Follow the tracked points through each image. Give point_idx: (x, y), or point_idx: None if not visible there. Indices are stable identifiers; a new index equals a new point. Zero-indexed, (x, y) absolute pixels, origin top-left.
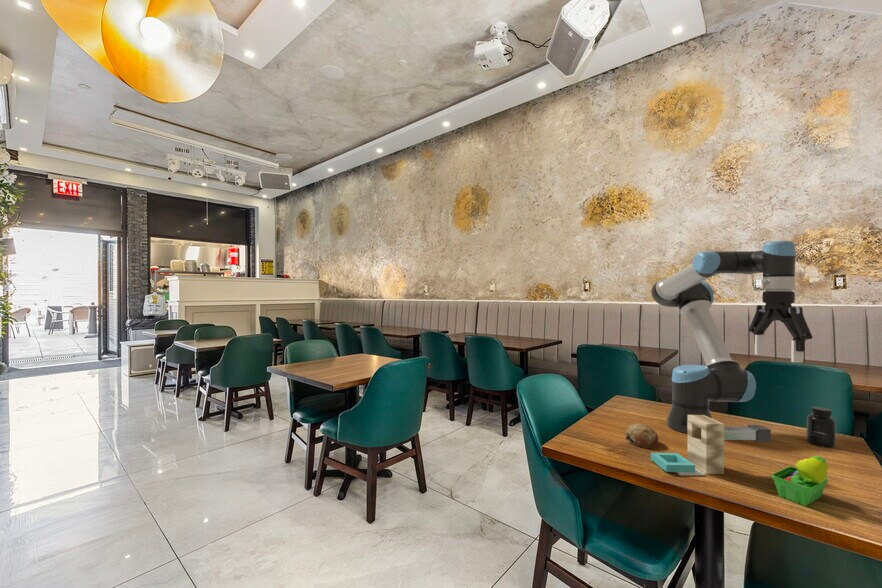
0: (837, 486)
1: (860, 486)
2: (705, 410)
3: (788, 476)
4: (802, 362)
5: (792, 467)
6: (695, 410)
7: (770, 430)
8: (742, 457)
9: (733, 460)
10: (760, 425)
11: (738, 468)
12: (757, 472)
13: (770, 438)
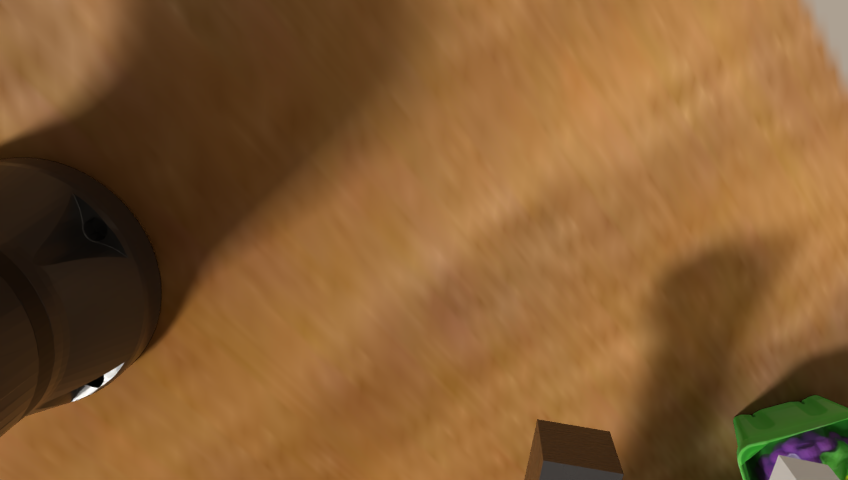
0: (774, 222)
1: (804, 112)
2: (52, 315)
3: (750, 476)
4: (825, 476)
5: (750, 457)
6: (53, 380)
7: (622, 473)
8: (441, 350)
9: (464, 421)
10: (550, 465)
11: None
12: None
13: (613, 445)
